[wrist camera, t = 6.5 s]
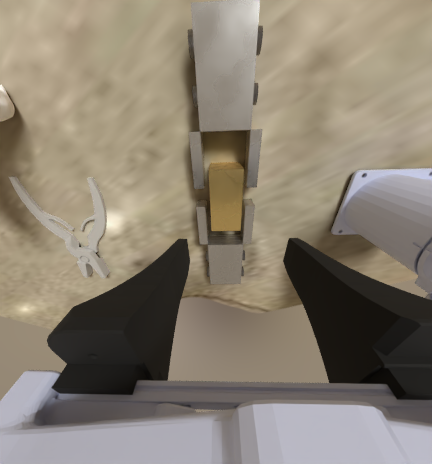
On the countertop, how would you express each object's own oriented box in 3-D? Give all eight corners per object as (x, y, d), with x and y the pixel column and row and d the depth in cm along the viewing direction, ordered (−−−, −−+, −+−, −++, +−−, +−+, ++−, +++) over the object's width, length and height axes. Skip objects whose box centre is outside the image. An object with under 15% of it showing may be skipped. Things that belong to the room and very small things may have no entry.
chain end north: (251, 198, 19) (255, 206, 17) (245, 271, 25) (247, 283, 23) (198, 200, 19) (195, 207, 17) (204, 272, 26) (203, 284, 24)
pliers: (87, 180, 17) (126, 278, 25) (97, 176, 19) (131, 271, 26) (-3, 178, 17) (63, 277, 25) (13, 175, 19) (71, 270, 26)
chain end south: (266, 21, 12) (275, -3, 10) (252, 182, 18) (256, 187, 16) (182, 25, 12) (175, 3, 10) (196, 183, 18) (194, 189, 16)
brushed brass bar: (238, 161, 17) (244, 168, 13) (236, 212, 20) (240, 230, 17) (210, 162, 17) (208, 170, 14) (212, 213, 20) (211, 231, 17)
